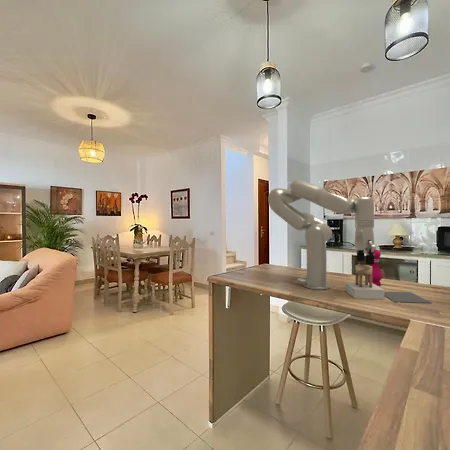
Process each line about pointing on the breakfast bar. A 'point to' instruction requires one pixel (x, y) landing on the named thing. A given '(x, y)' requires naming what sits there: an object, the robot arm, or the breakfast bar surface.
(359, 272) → the stool
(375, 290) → the step
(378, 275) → the pepper mill
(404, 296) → the mat
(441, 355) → the breakfast bar surface
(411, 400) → the breakfast bar surface
